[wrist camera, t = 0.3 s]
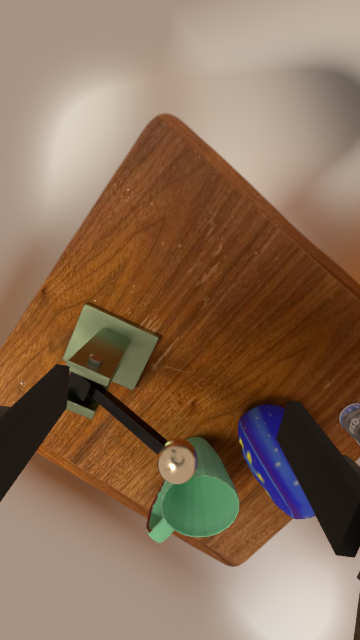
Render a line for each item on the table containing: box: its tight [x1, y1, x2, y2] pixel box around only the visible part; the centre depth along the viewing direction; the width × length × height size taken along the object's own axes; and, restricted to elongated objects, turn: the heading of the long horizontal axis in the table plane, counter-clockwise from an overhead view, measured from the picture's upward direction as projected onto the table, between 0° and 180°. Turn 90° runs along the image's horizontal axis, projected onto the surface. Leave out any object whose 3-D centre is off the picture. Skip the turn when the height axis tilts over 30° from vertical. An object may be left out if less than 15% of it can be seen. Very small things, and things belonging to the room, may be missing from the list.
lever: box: [68, 372, 198, 484], centre depth 26 cm, size 15×4×4 cm, turn 64°
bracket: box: [62, 302, 159, 419], centre depth 32 cm, size 11×9×13 cm
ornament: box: [238, 404, 316, 519], centre depth 34 cm, size 11×9×15 cm
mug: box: [146, 437, 239, 543], centre depth 38 cm, size 15×10×10 cm
